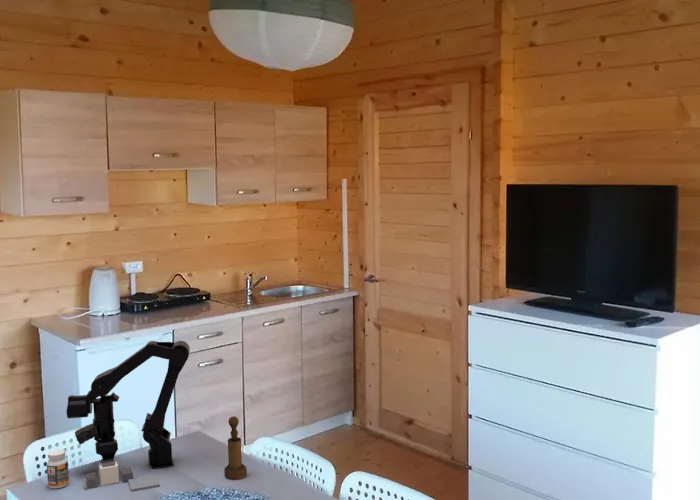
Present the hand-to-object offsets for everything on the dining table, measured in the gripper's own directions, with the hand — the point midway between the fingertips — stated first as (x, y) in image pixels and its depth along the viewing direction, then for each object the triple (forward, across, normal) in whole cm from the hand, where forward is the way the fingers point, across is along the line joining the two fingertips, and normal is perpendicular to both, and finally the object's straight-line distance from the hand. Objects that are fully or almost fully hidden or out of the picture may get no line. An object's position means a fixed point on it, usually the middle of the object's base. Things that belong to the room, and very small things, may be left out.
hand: (106, 464), depth 224 cm
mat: (+1, +17, +9) cm, 19 cm away
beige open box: (+1, +10, 0) cm, 10 cm away
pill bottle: (+2, +7, -14) cm, 16 cm away
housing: (+1, +11, 0) cm, 11 cm away
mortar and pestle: (+1, +22, +35) cm, 42 cm away
